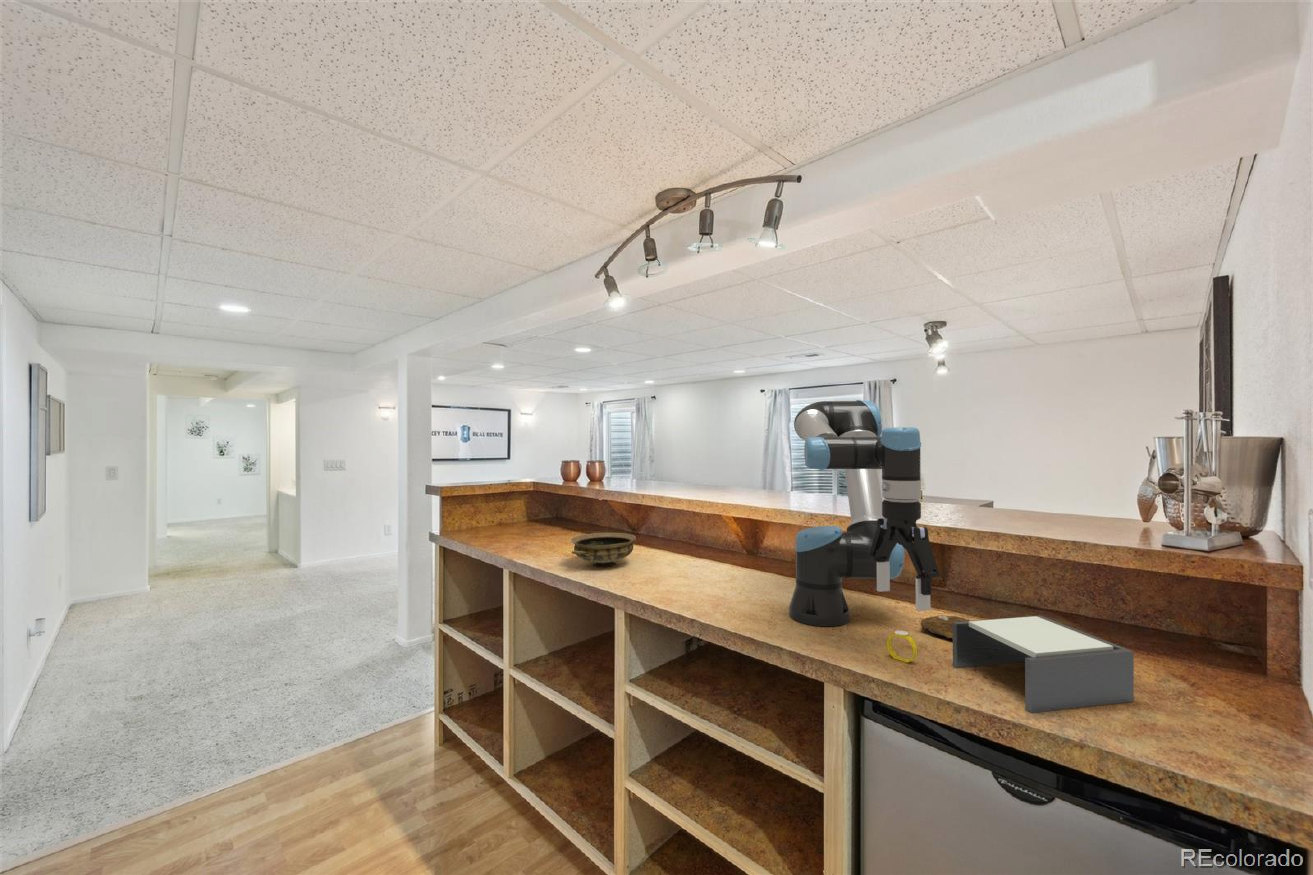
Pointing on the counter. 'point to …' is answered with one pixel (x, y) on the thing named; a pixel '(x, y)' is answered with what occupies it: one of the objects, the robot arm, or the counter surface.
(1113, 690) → the stand
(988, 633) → the trapdoor
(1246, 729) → the counter surface
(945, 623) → the decorative rock
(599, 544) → the ceramic bowl
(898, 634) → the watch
